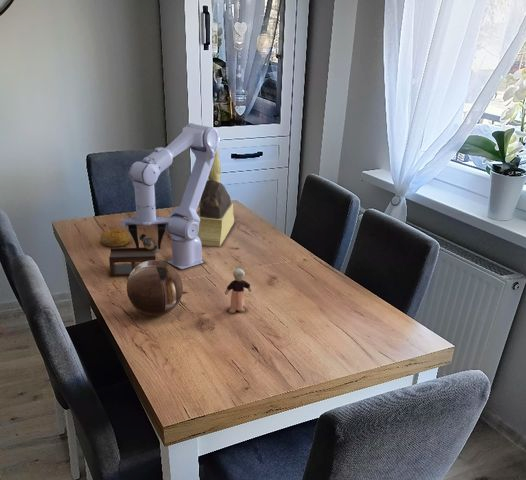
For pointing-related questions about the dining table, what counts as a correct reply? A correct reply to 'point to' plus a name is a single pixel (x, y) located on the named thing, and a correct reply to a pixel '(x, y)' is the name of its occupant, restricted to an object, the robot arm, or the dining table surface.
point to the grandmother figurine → (237, 291)
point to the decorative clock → (214, 209)
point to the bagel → (115, 238)
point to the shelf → (128, 259)
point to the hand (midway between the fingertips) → (148, 248)
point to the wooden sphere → (154, 287)
